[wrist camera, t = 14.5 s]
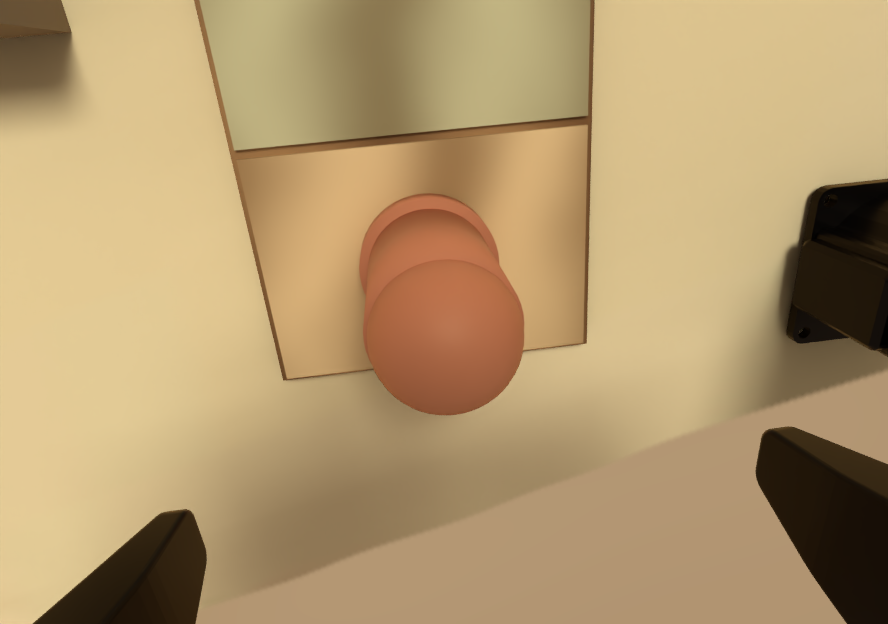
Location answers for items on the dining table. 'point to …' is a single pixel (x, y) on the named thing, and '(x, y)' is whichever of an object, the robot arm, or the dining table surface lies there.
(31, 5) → the die
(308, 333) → the board
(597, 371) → the dining table surface
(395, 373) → the pawn
